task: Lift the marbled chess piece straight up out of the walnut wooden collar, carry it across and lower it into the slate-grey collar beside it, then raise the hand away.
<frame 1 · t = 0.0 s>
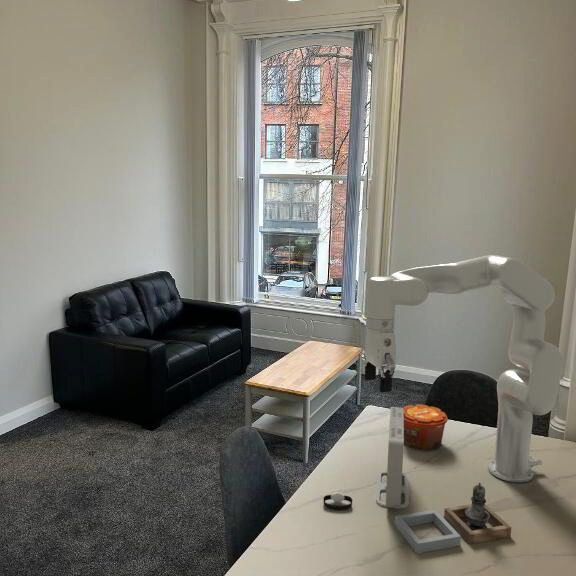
hand: (377, 385, 148), 31 cm above the table, tool pointing down, fingers open, 9 cm apart
food container: (421, 443, 185), on the table
marbled chess piece: (476, 527, 138), resting in walnut collar
walnut collar: (476, 526, 138), on the table
slate-grey collar: (426, 535, 134), on the table
watch: (337, 507, 146), on the table
network device: (392, 490, 155), on the table
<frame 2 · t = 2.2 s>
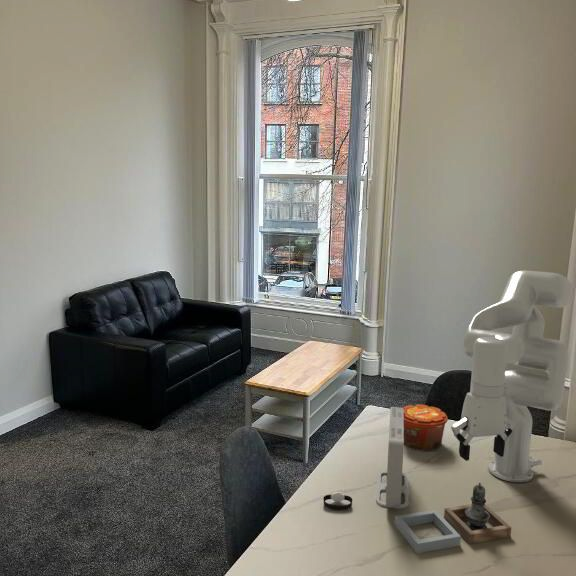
hand: (481, 456, 134), 19 cm above the table, tool pointing down, fingers open, 9 cm apart
nothing on the table moved.
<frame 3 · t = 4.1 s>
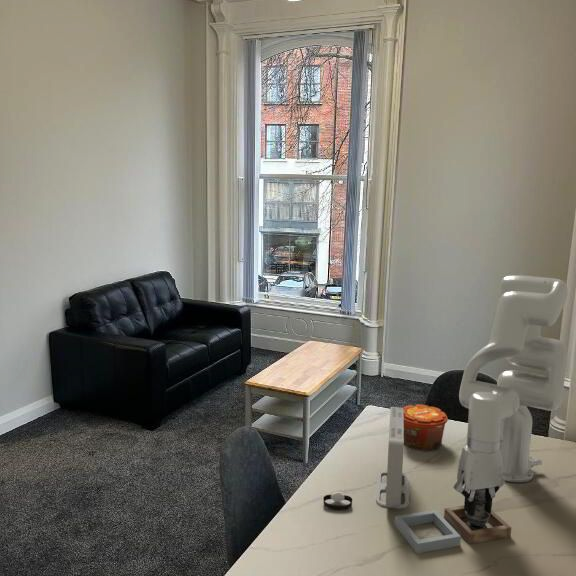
hand: (477, 510, 137), 4 cm above the table, tool pointing down, fingers closed on marbled chess piece, 4 cm apart
marbled chess piece: (476, 527, 138), resting in walnut collar, touching gripper
everything else where it was.
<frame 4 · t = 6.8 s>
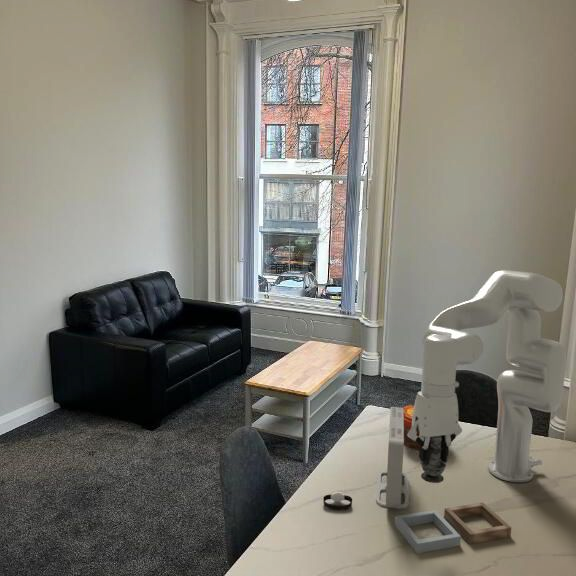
hand: (433, 460, 131), 20 cm above the table, tool pointing down, fingers closed on marbled chess piece, 4 cm apart
marbled chess piece: (432, 478, 132), point 15 cm above the table, touching gripper
everything else where it was.
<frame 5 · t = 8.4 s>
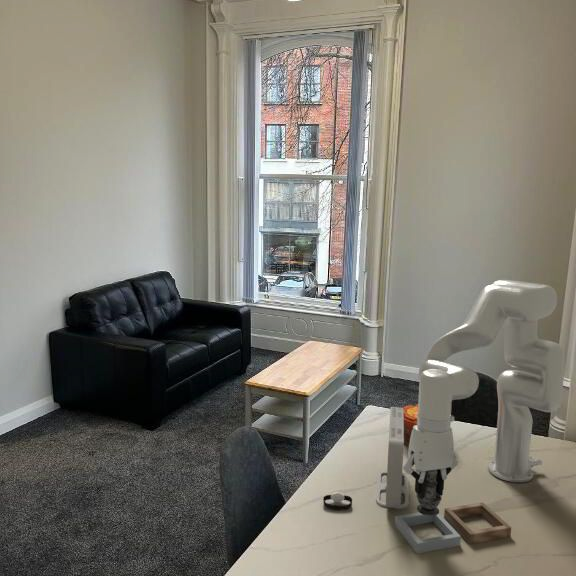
hand: (428, 493, 132), 11 cm above the table, tool pointing down, fingers closed on marbled chess piece, 4 cm apart
marbled chess piece: (427, 510, 133), point 7 cm above the table, touching gripper
everything else where it was.
when the fingers open (6 cm above the table, at t = 9.7 s): marbled chess piece drops 2 cm, resting in slate-grey collar.
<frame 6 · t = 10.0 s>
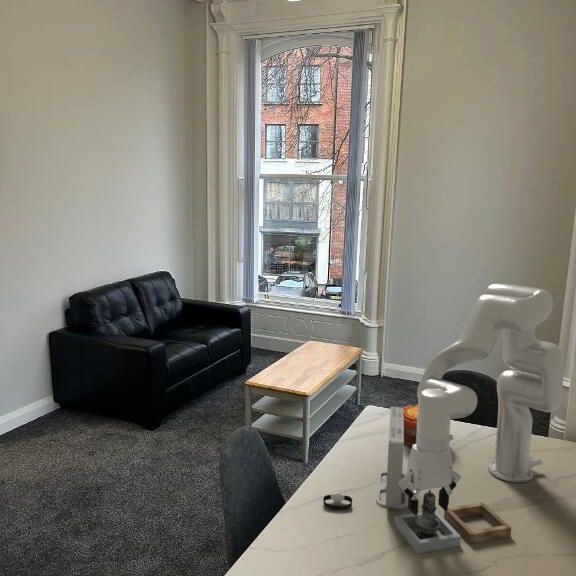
hand: (428, 509, 133), 7 cm above the table, tool pointing down, fingers open, 7 cm apart
marbled chess piece: (427, 535, 134), resting in slate-grey collar
everything else where it was.
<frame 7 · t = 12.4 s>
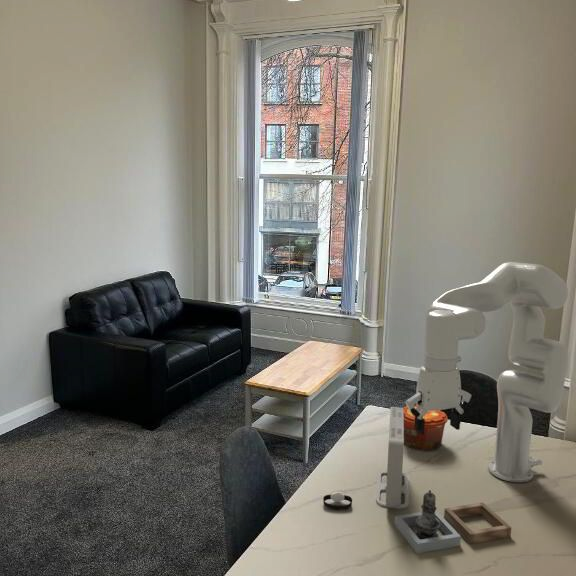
hand: (437, 430, 134), 26 cm above the table, tool pointing down, fingers open, 9 cm apart
nothing on the table moved.
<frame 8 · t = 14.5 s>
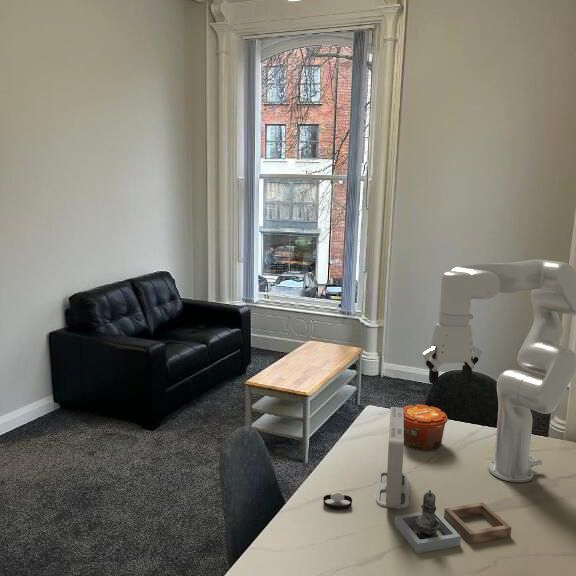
hand: (449, 382, 145), 33 cm above the table, tool pointing down, fingers open, 9 cm apart
nothing on the table moved.
at the end: marbled chess piece 0.2 cm off-centre on the slate-grey collar, point 0.0 cm above the slate-grey collar's base; marbled chess piece tilted 0°; the gripper is holding nothing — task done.
